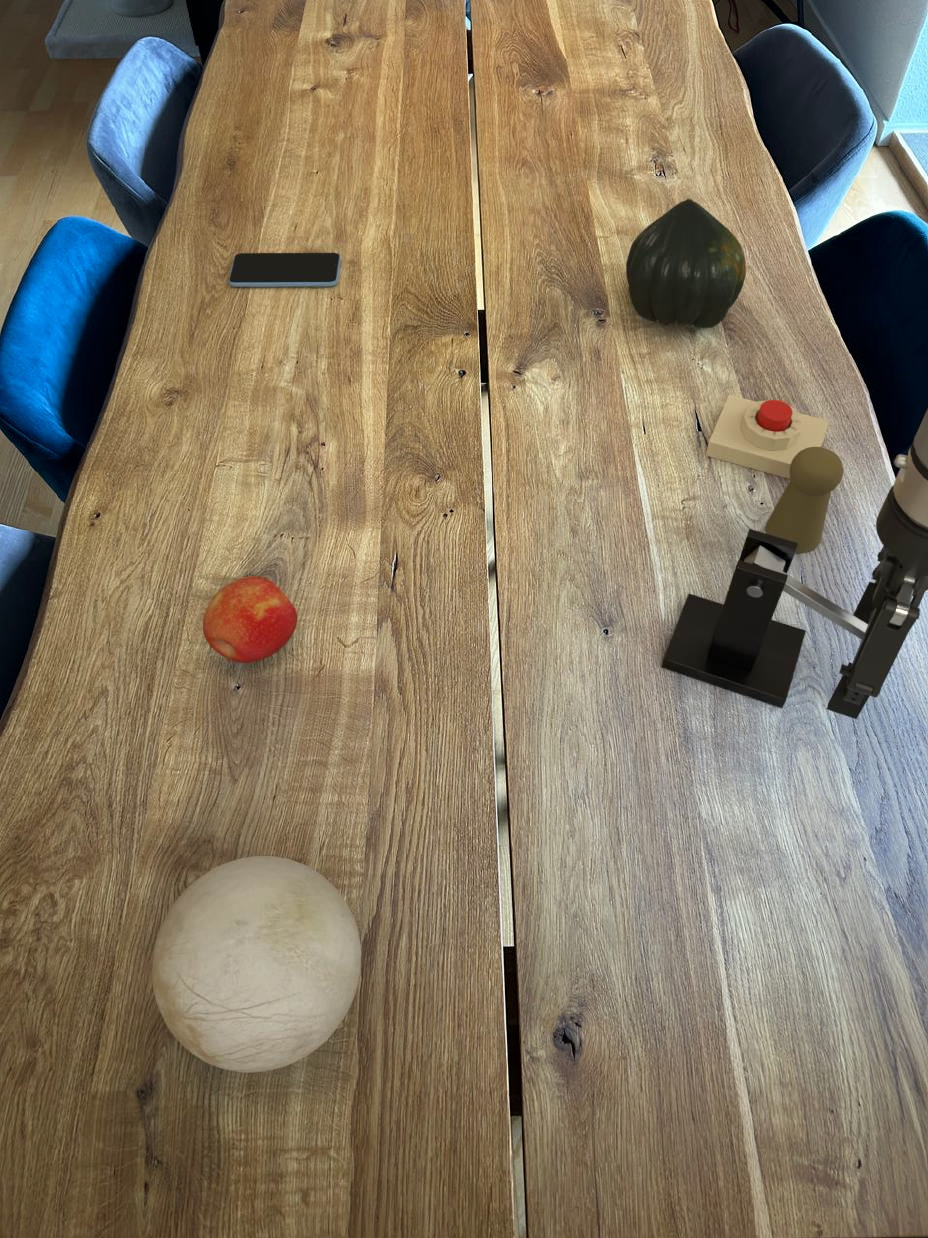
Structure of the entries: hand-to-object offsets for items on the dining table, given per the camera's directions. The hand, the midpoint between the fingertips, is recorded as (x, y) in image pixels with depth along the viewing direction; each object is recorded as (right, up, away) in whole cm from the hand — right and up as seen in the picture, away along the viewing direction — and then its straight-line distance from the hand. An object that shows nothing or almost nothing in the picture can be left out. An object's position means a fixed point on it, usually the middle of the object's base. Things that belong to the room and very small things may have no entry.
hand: (852, 670), depth 95 cm
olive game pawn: (-1, +14, +15) cm, 21 cm away
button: (-1, +27, +21) cm, 34 cm away
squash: (-8, +46, +40) cm, 61 cm away
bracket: (-10, +1, +5) cm, 11 cm away
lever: (-6, +6, -4) cm, 9 cm away
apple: (-57, +2, +6) cm, 58 cm away
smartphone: (-61, +53, +45) cm, 92 cm away
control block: (-1, +25, +24) cm, 35 cm away
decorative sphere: (-52, -25, -15) cm, 59 cm away
